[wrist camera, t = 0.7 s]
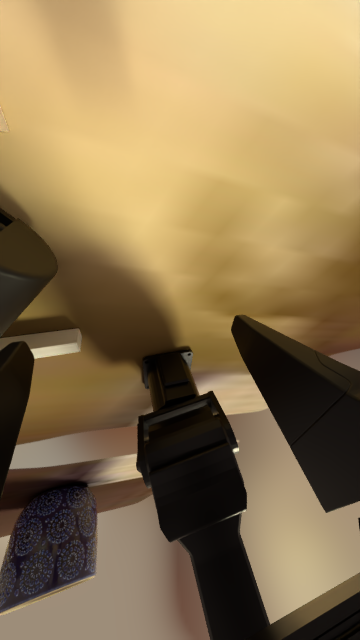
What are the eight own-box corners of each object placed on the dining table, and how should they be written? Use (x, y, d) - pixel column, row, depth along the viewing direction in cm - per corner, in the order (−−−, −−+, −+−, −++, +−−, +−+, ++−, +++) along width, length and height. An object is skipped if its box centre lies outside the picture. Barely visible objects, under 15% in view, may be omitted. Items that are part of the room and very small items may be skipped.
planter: (45, 479, 40) (22, 603, 29) (112, 478, 51) (114, 568, 40) (2, 510, 44) (-33, 629, 33) (72, 503, 55) (63, 591, 44)
